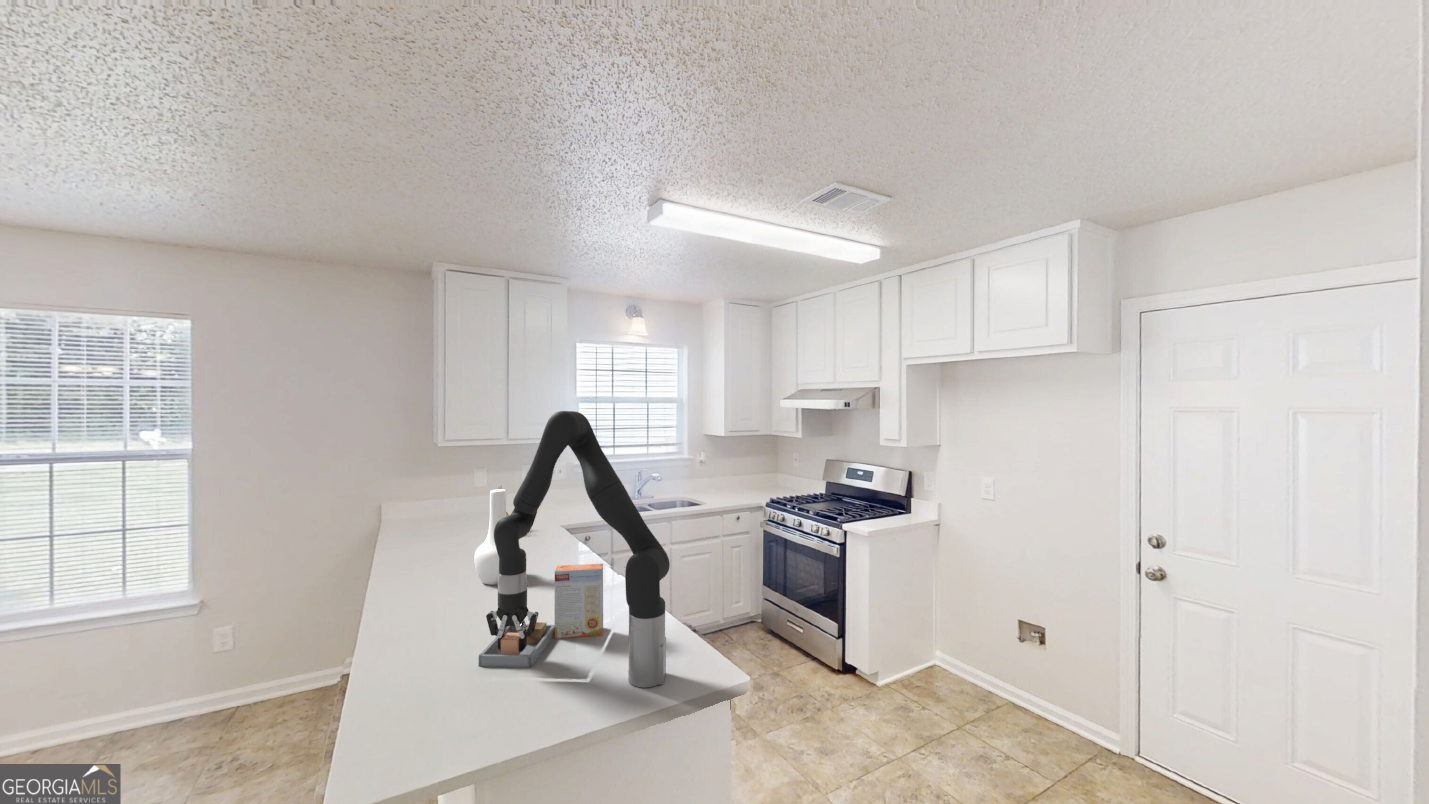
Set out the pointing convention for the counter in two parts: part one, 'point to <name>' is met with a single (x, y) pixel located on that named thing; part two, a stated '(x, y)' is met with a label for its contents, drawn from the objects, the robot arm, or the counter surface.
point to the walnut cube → (537, 634)
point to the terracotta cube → (510, 644)
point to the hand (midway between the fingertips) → (512, 649)
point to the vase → (491, 541)
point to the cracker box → (578, 601)
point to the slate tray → (524, 659)
